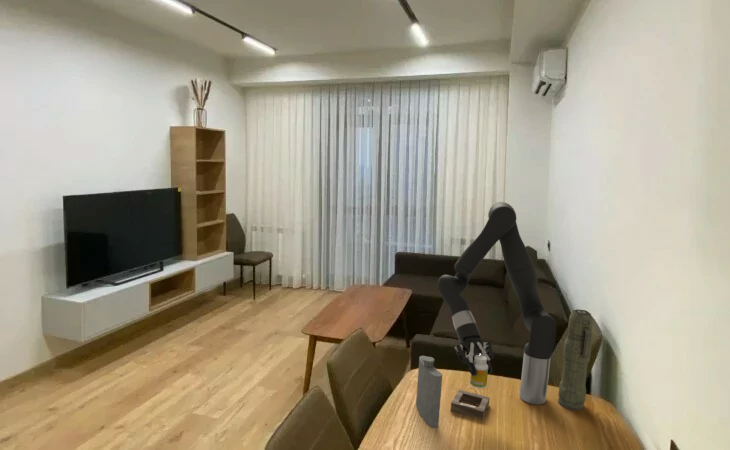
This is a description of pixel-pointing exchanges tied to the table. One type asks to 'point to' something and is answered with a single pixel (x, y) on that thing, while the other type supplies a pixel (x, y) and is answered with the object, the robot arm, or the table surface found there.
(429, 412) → the hip flask
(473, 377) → the supplement bottle
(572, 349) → the olive fabric bag
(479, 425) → the table surface
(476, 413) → the socket block
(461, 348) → the robot arm
